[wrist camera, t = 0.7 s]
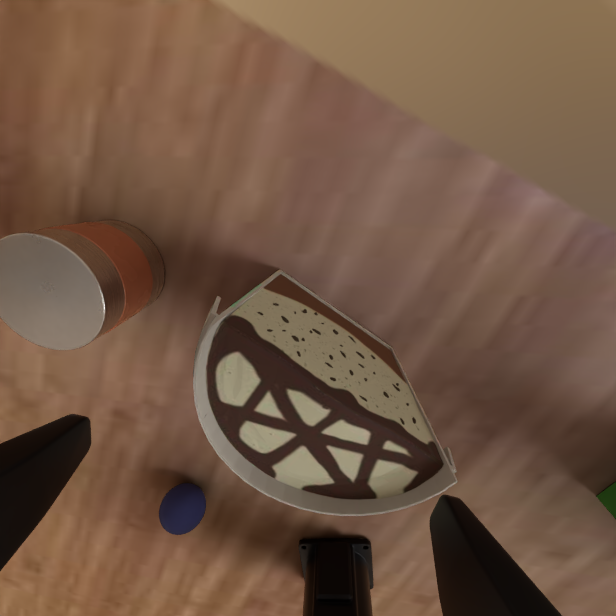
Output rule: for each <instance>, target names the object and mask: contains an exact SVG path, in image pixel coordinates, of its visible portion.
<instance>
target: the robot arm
mask: <svg viewBox="0 0 616 616" xmlns="http://www.w3.org/2000/svg"><path fill="white" fill-rule="evenodd" d="M90 446H91V427H90V420H89V418H88V417H85V416H81V415H76V414H70V415H67V416H65V417H62V418H60V419H58V420H55V421H53V422H51V423H48V424H46V425H43V426H41V427H39V428H36V429H34V430H32V431H29V432H27V433H25V434H22V435H20V436H17V437H15V438H13V439H10V440H8V441H6V442H3V443H1V444H0V571H1V570H2V568H3V567H4V566H5V565H6V563H7V562H8V561H9V560H10V558H11V557H12V556H13V555H14V553H15V552H16V551H17V550H18V548H19V547H20V546H21V545H22V543H23V542H24V541H25V540H26V538H27V537H28V536H29V535H30V533H31V532H32V531H33V530H34V529H35V527H36V526H37V525H38V523H39V522H40V521H41V520H42V518H43V517H44V516H45V514H46V513H47V511H48V510H49V509H50V507H51V506H52V504H53V503H54V501H55V500H56V499H57V497H58V496H59V494H60V493H61V491H62V490H63V488H64V487H65V485H66V484H67V482H68V481H69V479H70V478H71V476H72V475H73V473H74V472H75V470H76V469H77V467H78V466H79V464H80V463H81V461H82V460H83V458H84V457H85V455H86V454H87V452H88V450H89V448H90ZM430 532H431V539H432V547H433V554H434V562H435V569H436V577H437V584H438V591H439V597H440V603H441V608H442V613H443V616H562V615H561V614H560V613H559V612H558V611H557V609H556V608H555V607H554V606H553V605H552V604H551V602H550V601H549V600H548V599H547V598H546V597H545V596H544V594H543V593H542V592H541V591H540V590H539V589H538V588H537V586H536V585H535V584H534V583H533V582H532V581H531V579H530V578H529V577H528V576H527V575H526V574H525V573H524V571H523V570H522V569H521V568H520V567H519V566H518V565H517V563H516V562H515V561H514V560H513V559H512V558H511V556H510V555H509V554H508V553H507V552H506V551H505V550H504V548H503V547H502V546H501V545H500V544H499V543H498V542H497V540H496V539H495V538H494V537H493V536H492V535H491V533H490V532H489V531H488V530H487V529H486V528H485V527H484V525H483V524H482V523H481V522H480V521H479V520H478V518H477V517H476V516H475V515H474V514H473V513H472V512H471V510H470V509H469V508H468V507H467V506H466V505H465V504H464V502H463V501H462V500H461V499H459V498H457V497H453V496H449V495H442V496H441V497H440V498H439V500H438V502H437V504H436V506H435V508H434V510H433V512H432V514H431V517H430ZM299 552H300V558H301V563H302V569H303V575H304V580H305V590H304V605H303V616H372V605H371V595H370V589H372V588H373V571H372V553H371V542H370V541H369V540H367V539H302V540H300V541H299Z"/></svg>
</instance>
